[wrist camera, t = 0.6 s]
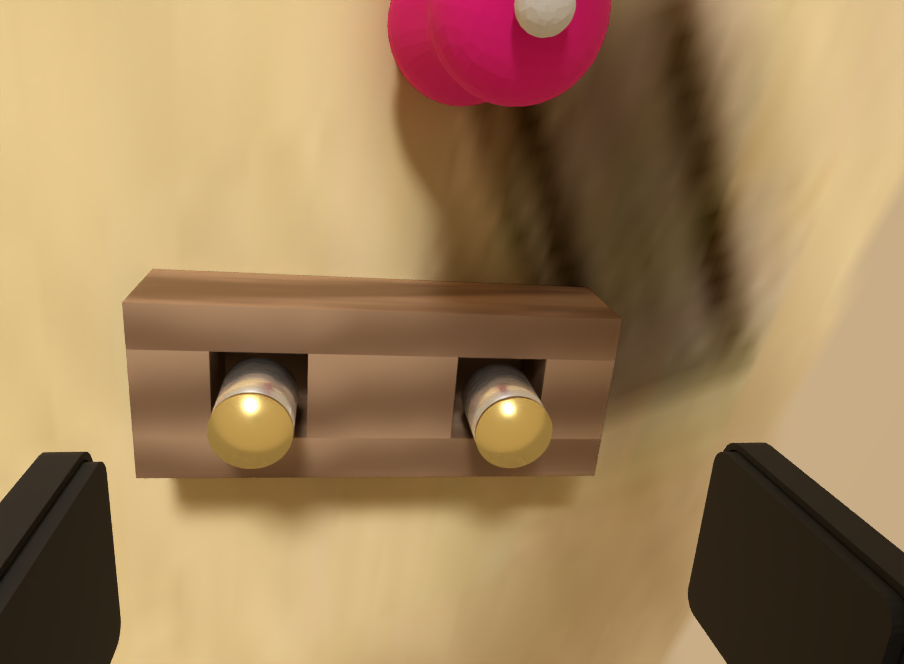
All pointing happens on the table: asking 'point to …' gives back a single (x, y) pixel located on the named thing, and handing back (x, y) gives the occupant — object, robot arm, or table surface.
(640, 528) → the table surface
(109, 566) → the robot arm
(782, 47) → the table surface
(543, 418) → the peg
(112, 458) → the table surface
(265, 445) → the peg
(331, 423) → the collar block
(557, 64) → the pepper mill
